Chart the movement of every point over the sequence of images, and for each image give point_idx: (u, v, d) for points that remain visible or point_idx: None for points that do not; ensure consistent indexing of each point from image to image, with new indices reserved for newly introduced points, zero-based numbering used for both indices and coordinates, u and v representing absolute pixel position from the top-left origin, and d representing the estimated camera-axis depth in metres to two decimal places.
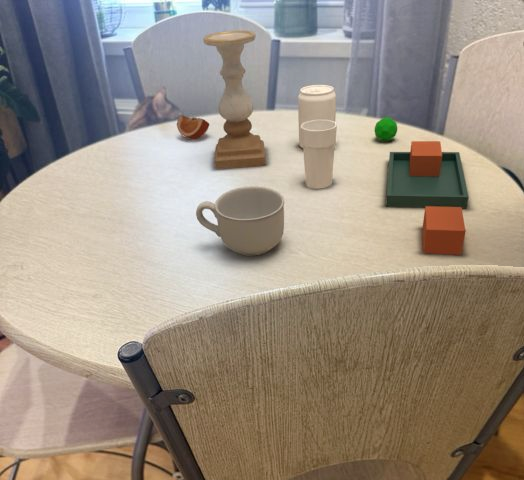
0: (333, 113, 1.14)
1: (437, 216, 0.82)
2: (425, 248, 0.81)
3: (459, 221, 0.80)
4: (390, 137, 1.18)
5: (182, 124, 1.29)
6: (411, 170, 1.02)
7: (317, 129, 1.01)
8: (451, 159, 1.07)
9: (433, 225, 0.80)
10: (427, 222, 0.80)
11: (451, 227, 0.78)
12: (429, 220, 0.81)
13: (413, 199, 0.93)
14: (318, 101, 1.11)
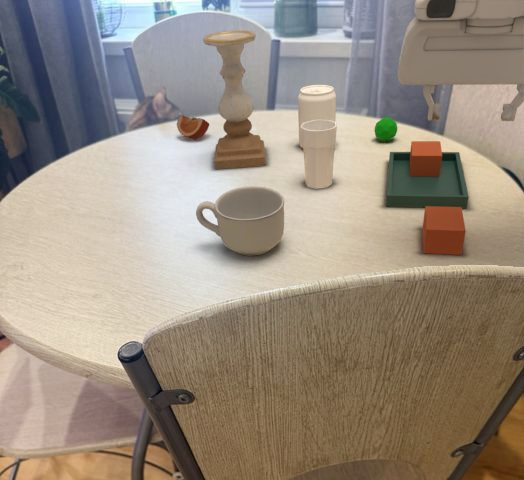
0: (333, 113, 1.14)
1: (437, 216, 0.82)
2: (425, 248, 0.81)
3: (459, 221, 0.80)
4: (390, 137, 1.18)
5: (182, 124, 1.29)
6: (411, 170, 1.02)
7: (317, 129, 1.01)
8: (451, 159, 1.07)
9: (433, 225, 0.80)
10: (427, 222, 0.80)
11: (451, 227, 0.78)
12: (429, 220, 0.81)
13: (413, 199, 0.93)
14: (318, 101, 1.11)
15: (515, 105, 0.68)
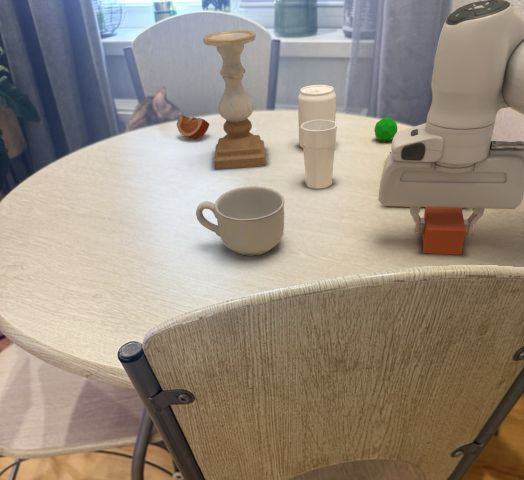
0: (333, 113, 1.14)
1: (437, 216, 0.82)
2: (425, 248, 0.81)
3: (459, 221, 0.80)
4: (390, 137, 1.18)
5: (182, 124, 1.29)
6: None
7: (317, 129, 1.01)
8: None
9: (433, 225, 0.80)
10: (427, 222, 0.80)
11: (451, 228, 0.78)
12: (429, 220, 0.81)
13: None
14: (318, 101, 1.11)
15: (471, 223, 0.80)
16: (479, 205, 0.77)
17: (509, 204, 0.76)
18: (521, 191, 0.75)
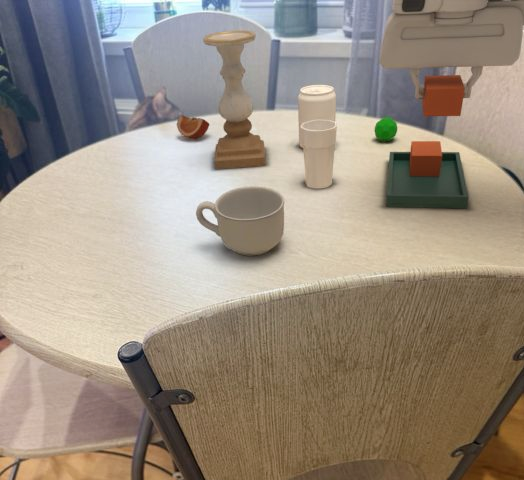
0: (333, 113, 1.14)
1: (436, 81, 0.83)
2: (425, 110, 0.82)
3: (458, 83, 0.82)
4: (390, 137, 1.18)
5: (182, 124, 1.29)
6: (411, 170, 1.02)
7: (317, 129, 1.01)
8: (451, 159, 1.07)
9: (433, 86, 0.81)
10: (427, 84, 0.82)
11: (450, 87, 0.80)
12: (429, 83, 0.83)
13: (413, 199, 0.93)
14: (318, 101, 1.11)
15: (470, 84, 0.82)
16: (478, 62, 0.79)
17: (507, 59, 0.78)
18: (518, 44, 0.77)
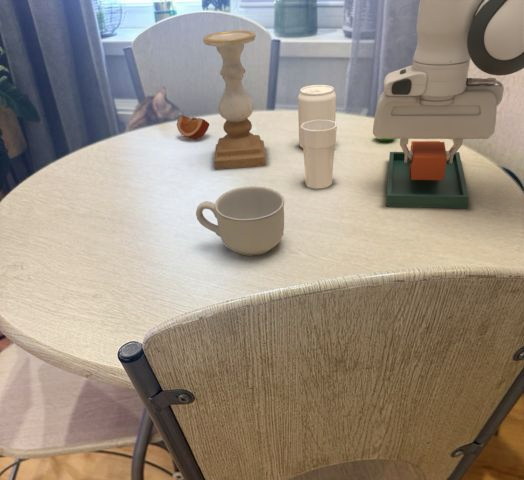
0: (333, 113, 1.14)
1: (423, 148, 0.95)
2: (412, 175, 0.94)
3: (441, 151, 0.93)
4: None
5: (182, 124, 1.29)
6: None
7: (317, 129, 1.01)
8: None
9: (419, 154, 0.93)
10: (414, 152, 0.94)
11: (434, 156, 0.92)
12: (416, 151, 0.94)
13: (413, 199, 0.93)
14: (318, 101, 1.11)
15: (452, 153, 0.93)
16: (458, 135, 0.90)
17: (483, 133, 0.89)
18: (493, 122, 0.88)
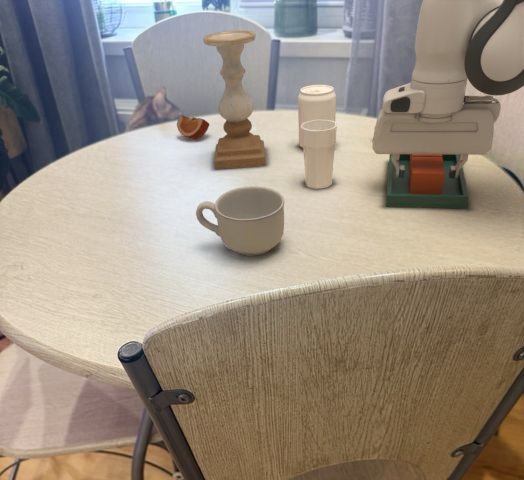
0: (333, 113, 1.14)
1: (421, 163, 0.97)
2: (411, 190, 0.96)
3: (439, 167, 0.95)
4: None
5: (182, 124, 1.29)
6: None
7: (317, 129, 1.01)
8: (451, 159, 1.07)
9: (417, 169, 0.95)
10: (412, 168, 0.95)
11: (432, 171, 0.94)
12: (415, 166, 0.96)
13: (413, 199, 0.93)
14: (318, 101, 1.11)
15: (457, 168, 0.95)
16: (456, 151, 0.92)
17: (481, 149, 0.91)
18: (490, 138, 0.90)
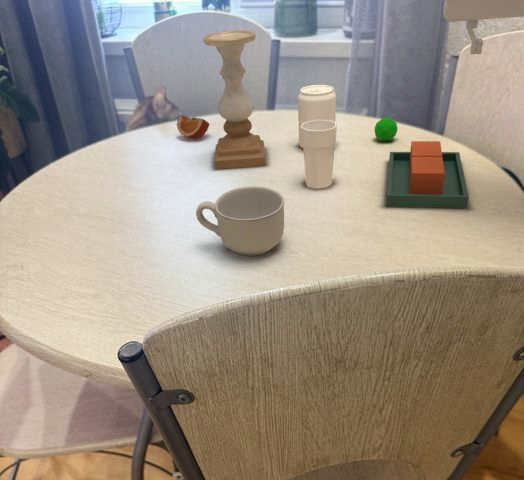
0: (333, 113, 1.14)
1: (421, 163, 0.97)
2: (411, 190, 0.96)
3: (439, 167, 0.95)
4: (390, 137, 1.18)
5: (182, 124, 1.29)
6: None
7: (317, 129, 1.01)
8: (451, 159, 1.07)
9: (417, 169, 0.95)
10: (412, 168, 0.95)
11: (432, 171, 0.94)
12: (415, 166, 0.96)
13: (413, 199, 0.93)
14: (318, 101, 1.11)
15: None
16: None
17: None
18: None
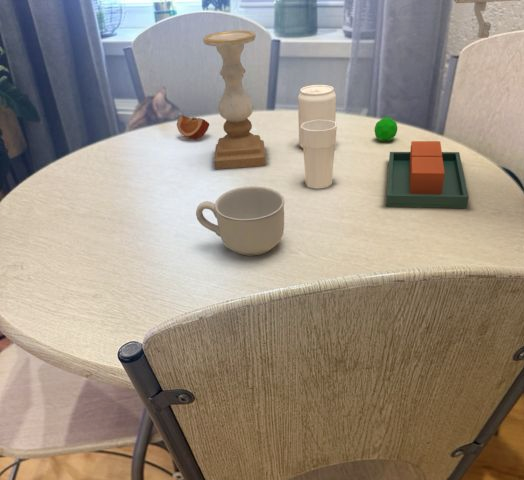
0: (333, 113, 1.14)
1: (421, 163, 0.97)
2: (411, 190, 0.96)
3: (439, 167, 0.95)
4: (390, 137, 1.18)
5: (182, 124, 1.29)
6: None
7: (317, 129, 1.01)
8: (451, 159, 1.07)
9: (417, 169, 0.95)
10: (412, 168, 0.95)
11: (432, 171, 0.94)
12: (415, 166, 0.96)
13: (413, 199, 0.93)
14: (318, 101, 1.11)
15: None
16: None
17: None
18: None
